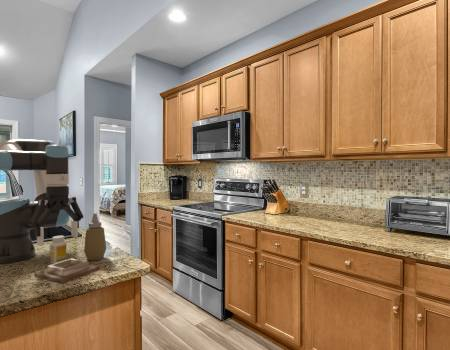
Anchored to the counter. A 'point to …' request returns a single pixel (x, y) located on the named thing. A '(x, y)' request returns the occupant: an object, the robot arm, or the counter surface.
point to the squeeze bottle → (95, 240)
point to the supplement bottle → (57, 249)
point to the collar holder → (67, 270)
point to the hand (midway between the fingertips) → (58, 240)
